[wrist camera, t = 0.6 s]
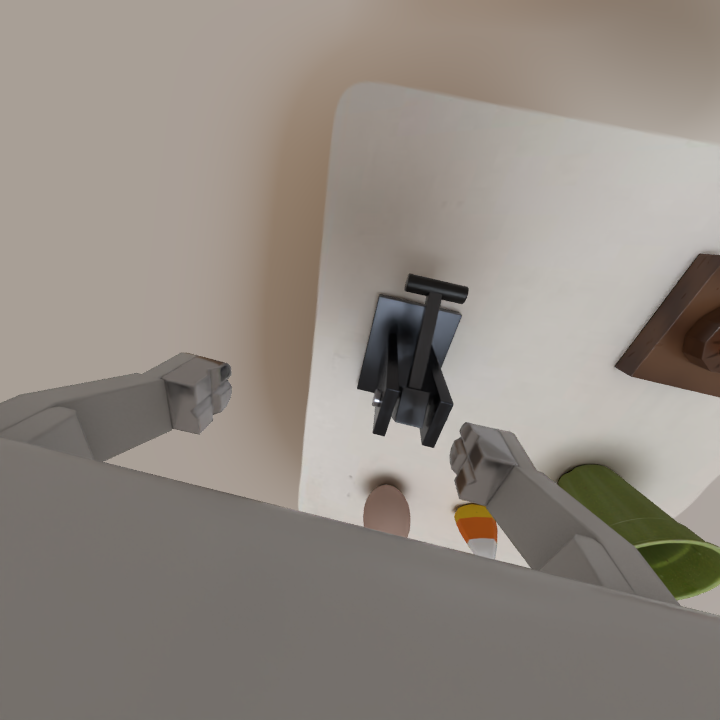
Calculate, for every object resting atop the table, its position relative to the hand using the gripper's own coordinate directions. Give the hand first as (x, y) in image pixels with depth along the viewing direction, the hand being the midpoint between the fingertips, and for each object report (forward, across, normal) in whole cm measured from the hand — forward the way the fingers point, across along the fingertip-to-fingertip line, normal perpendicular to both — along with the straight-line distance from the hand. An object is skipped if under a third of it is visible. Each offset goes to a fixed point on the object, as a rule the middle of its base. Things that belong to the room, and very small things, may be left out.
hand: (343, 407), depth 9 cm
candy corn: (+22, -23, +30) cm, 44 cm away
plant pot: (+22, -35, +19) cm, 45 cm away
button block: (+22, -33, -4) cm, 39 cm away
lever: (+14, -5, +3) cm, 15 cm away
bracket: (+21, -5, +6) cm, 23 cm away
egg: (+22, -9, +30) cm, 38 cm away
